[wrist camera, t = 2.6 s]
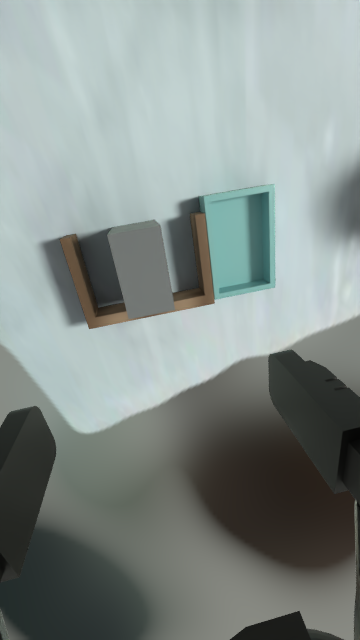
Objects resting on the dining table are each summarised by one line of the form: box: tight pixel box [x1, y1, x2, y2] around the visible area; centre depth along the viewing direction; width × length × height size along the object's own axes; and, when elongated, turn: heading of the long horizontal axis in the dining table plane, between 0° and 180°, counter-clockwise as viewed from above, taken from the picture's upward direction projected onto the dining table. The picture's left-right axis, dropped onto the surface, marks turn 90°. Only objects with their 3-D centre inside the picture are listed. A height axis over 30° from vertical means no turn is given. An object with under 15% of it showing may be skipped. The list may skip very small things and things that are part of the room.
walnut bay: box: [60, 212, 215, 329], centre depth 30 cm, size 14×10×3 cm
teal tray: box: [199, 184, 275, 300], centre depth 31 cm, size 7×11×2 cm
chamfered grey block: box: [107, 220, 175, 319], centre depth 28 cm, size 5×8×7 cm, turn 9°
